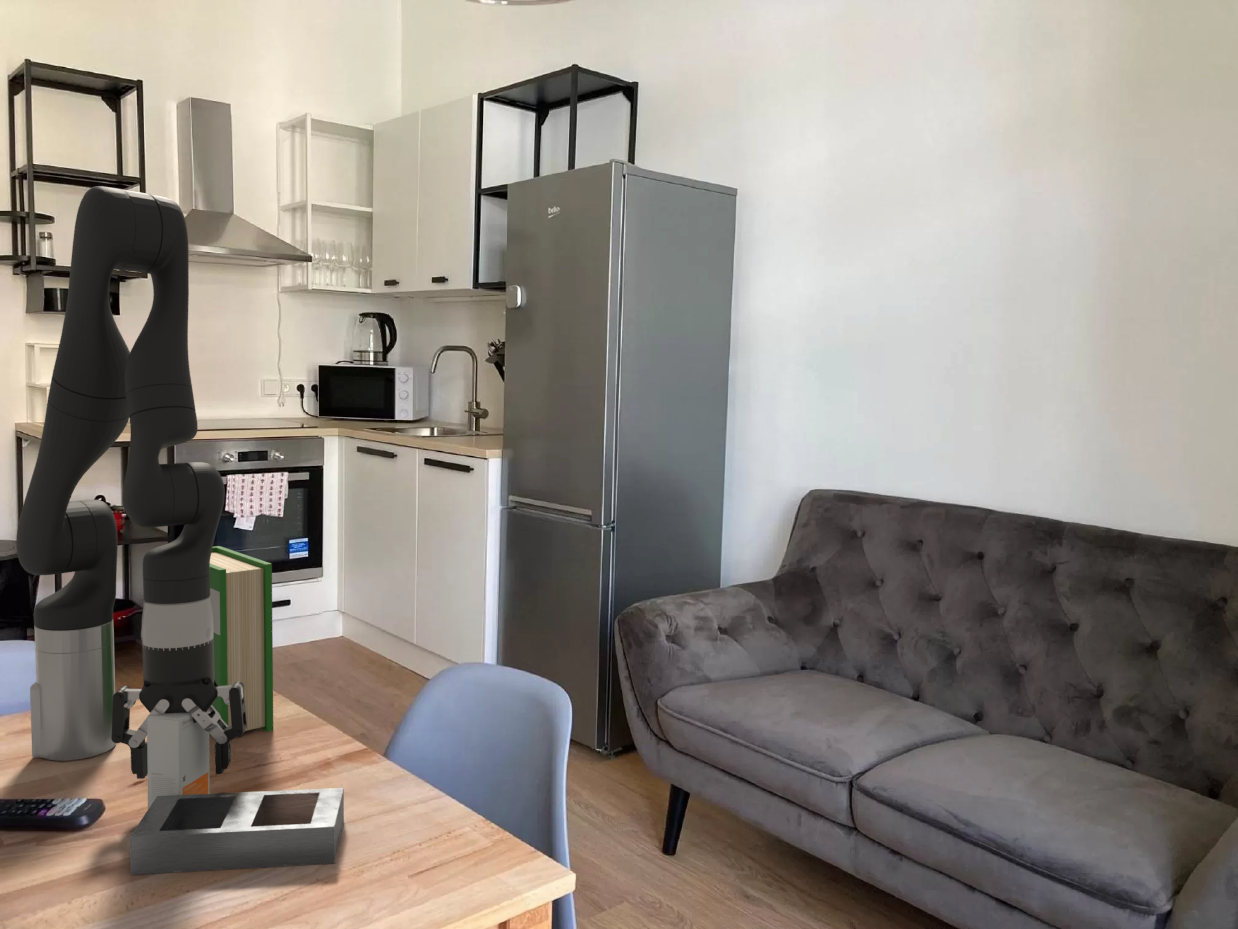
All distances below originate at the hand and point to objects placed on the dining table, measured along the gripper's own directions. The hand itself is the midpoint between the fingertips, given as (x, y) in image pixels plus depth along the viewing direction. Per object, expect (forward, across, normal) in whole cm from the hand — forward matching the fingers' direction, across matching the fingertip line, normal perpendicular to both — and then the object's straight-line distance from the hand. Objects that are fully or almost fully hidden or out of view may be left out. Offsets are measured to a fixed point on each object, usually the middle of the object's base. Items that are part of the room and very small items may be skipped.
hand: (181, 774), depth 119 cm
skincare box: (+4, 0, 0) cm, 5 cm away
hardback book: (+4, +2, -31) cm, 31 cm away
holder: (+4, -9, +10) cm, 14 cm away
